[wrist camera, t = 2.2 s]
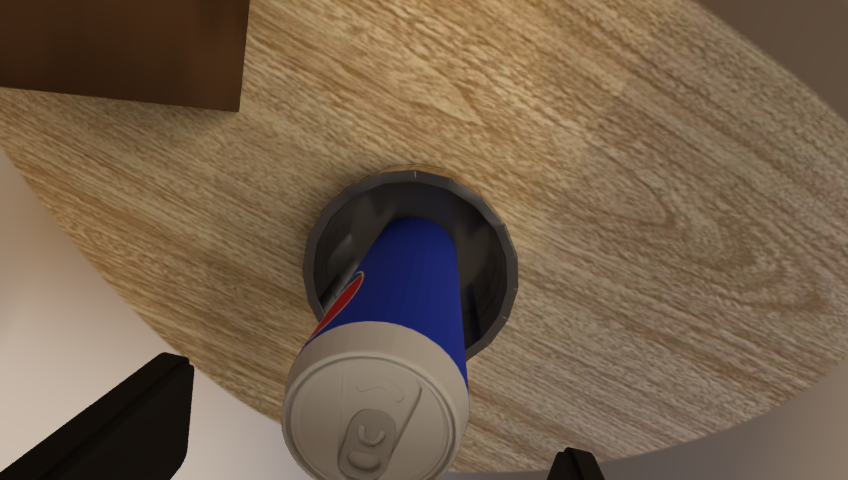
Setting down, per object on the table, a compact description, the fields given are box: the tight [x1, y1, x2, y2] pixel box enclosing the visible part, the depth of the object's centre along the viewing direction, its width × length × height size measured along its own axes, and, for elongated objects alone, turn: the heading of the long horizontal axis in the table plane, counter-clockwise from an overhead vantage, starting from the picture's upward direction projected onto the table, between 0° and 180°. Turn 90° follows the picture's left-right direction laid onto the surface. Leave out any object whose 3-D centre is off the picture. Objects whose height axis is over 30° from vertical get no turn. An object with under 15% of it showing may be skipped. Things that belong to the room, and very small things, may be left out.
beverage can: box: [281, 217, 469, 480], centre depth 17 cm, size 5×5×15 cm
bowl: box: [302, 164, 518, 361], centre depth 23 cm, size 11×11×4 cm
